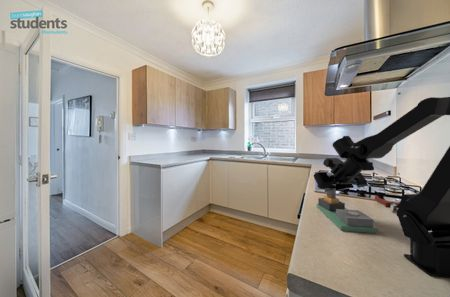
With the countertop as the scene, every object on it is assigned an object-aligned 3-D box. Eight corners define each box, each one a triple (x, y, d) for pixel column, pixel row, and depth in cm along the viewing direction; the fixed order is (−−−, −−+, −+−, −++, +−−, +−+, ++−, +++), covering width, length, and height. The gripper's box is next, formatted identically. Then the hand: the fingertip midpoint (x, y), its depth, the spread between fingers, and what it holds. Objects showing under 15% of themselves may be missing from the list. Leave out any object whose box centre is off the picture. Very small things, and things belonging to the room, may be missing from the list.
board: (375, 233, 53) (375, 228, 53) (340, 230, 55) (341, 225, 54) (340, 208, 74) (341, 204, 74) (316, 206, 75) (316, 203, 75)
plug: (339, 208, 68) (339, 179, 68) (331, 208, 68) (331, 179, 67) (331, 204, 72) (331, 177, 72) (323, 204, 72) (323, 177, 72)
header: (344, 210, 67) (344, 203, 67) (330, 211, 66) (330, 204, 66) (331, 204, 74) (331, 197, 74) (318, 204, 73) (318, 198, 73)
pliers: (378, 211, 71) (378, 205, 71) (374, 199, 87) (374, 194, 86) (418, 219, 64) (419, 212, 64) (406, 204, 79) (406, 199, 79)
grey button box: (373, 227, 54) (373, 218, 53) (347, 225, 55) (347, 216, 55) (358, 217, 61) (358, 209, 61) (335, 215, 62) (335, 208, 62)
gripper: (360, 151, 66) (339, 174, 78) (316, 151, 65) (300, 175, 76) (380, 174, 59) (353, 196, 70) (330, 175, 57) (311, 197, 68)
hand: (328, 190), depth 71 cm, fingers closed on plug, 3 cm apart
